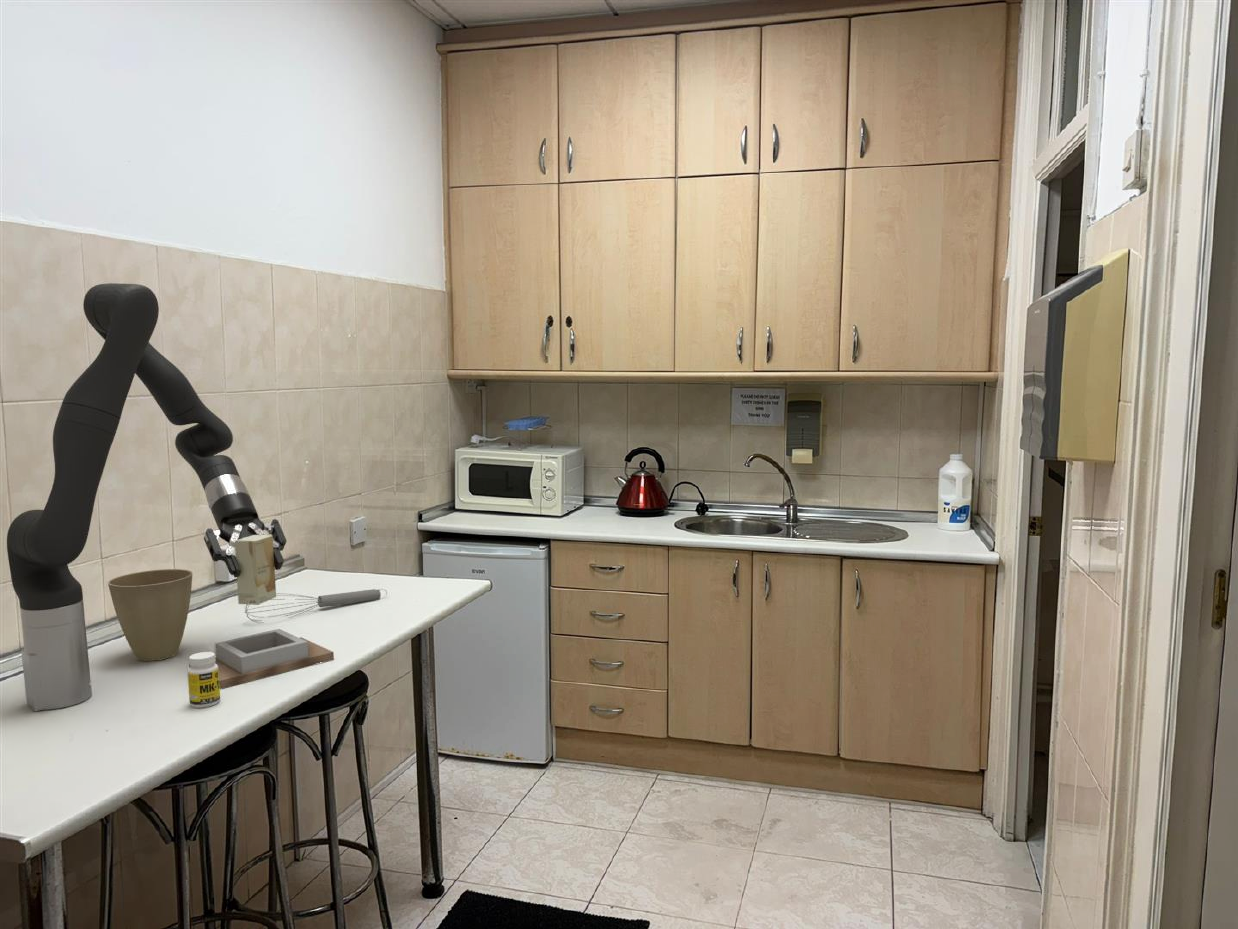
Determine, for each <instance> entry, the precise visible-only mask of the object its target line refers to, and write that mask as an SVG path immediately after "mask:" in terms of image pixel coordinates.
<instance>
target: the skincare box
mask: <svg viewBox="0 0 1238 929" xmlns="http://www.w3.org/2000/svg"><path fill="white" fill-rule="evenodd" d="M234 551H235V552H234V553H235V554H234V555H235V557H236V559H237V562H238V564H239V567H240V569H241V573H240V576H239V577H236V580H237V581H236V583H237V585H236V586H237V600H238V605H246V604H248V605H249V604H250V605H255V606H259V605H261V604H264V603H267V602H268V601H272V600H271V599H276V597H277V596H276V595H277V594H276V593H277V589H276V573H275V572H276V571H275V570H276V569H275V567H274V551H273V536H272V535H271V534H268V535H252V536H249V537H245V538H242V539H239V540H236V541H235V548H234ZM250 605H249V606H250Z"/></svg>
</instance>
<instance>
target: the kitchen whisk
mask: <svg viewBox="0 0 1238 929" xmlns="http://www.w3.org/2000/svg"><path fill="white" fill-rule="evenodd" d="M380 590H381V591H385V592H386V593H385V595H387V594H388V591H387V590H385V589H383V588H379V589H375V588H373V589H366V590H358V591H357V590H356V591H350V592H349V591H348V592H341V593H333V594H325V595H324V594H323V595H319V596H318V597H313V596H307V595H302V594H298V595H297V597H299V598H296V600H300V601H301V600H306V601H310V602H309V603H306V601H301V602H297V604H299V605H298V607H302V606H303V603H304V606H307V605H311V606H309V607H305V608H303V609H299V610H295V611H292V612H288V613H283V614H278V615H276V617H279V616H285V617H288V619H291V618H294V617H296V616H299V615H301V614H304V613H305V612H309V611H311V610H313V609H315V608H317V607H319V608H326V607H327V608H328V607H335V606H340V605H341V606H342V605H349V604H350V605H351V604H356V603H357V602H358V603H363V602H362V601H366V602H370V601H369V600H373V601H375V600H374V599H377V598H380V599H381V596H382V595H381V594H382V593H381V591H380ZM283 596H284V597H294V596H296V594H294V593H293V594H292V593H289V594H283V592H282V593H277V592H276V597H283ZM276 600H278V601H279V600H283V601H284V598H273V599H271V600H270V601H276ZM377 600H378V599H377ZM292 604H293V605H294V602H290V603H288V602H287V603H286V605H292ZM313 604H314V605H313ZM280 605H281V606H282V605H284V603H280V604H277V606H280ZM249 606H250V604H245V607H244V613H245V614H246V617H247V618H248V619H249V620H251V621H252V622H255V623H257V624H261V622H263V620H262V619H261V620H260V619H258V620H257V619H254V618H258V616H256V615H252V614H253V613H255V611H249V610H254V609H258V608H259V609H260V608H261V606H258V607H253V608H249ZM273 606H276V604H270V605H269V607H273ZM265 607H268V605H265V606H262V608H265ZM296 607H297V605H294V606H292V608H296ZM288 608H289V609H290V608H291V606H287V607H281V608H279V610H284V609H288ZM277 610H278V608H273V609H272V611H277ZM248 611H249V612H248ZM261 612H263V613H264V610H261V611H257V613H261ZM265 612H271V609H267V610H265ZM251 613H252V614H251ZM294 614H295V615H294ZM291 615H293V616H291ZM249 616H251V617H254V618H253V619H252V618H250V617H249ZM289 616H290V617H289ZM272 617H275V615H271V616H269V618H272ZM260 618H263V616H260Z"/></svg>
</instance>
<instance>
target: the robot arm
mask: <svg viewBox="0 0 1238 929" xmlns="http://www.w3.org/2000/svg"><path fill="white" fill-rule="evenodd" d="M82 304H83V312H84V316H85V317H86V319H87V321H88V323H89V324H90V325H91V327H92V328H93V329H94V331H96V332H97V333H98V335H99V336H100V337H101V338H102V339H103V340H104V343H103V345H102V348H101V350H100V351H99V353H98V354H97V356H96V358H95V359H94V360H93V361H92V363H90V365H89V366H88V367H87V368H86V369H85V370H84V371H83V372H82V373H81V375H80V376H79V377H78V378H77V379H75V381H74V383H72V385H71V386H70V388H68V390H67V392H66V393H65V395H64V397H63V400H62V402H61V404H60V408H59V411H58V414H57V416H56V420H55V423H54V427H53V431H52V434H53V435H52V450H53V452H52V453H53V460H54V462H53V463H54V477H53V484H52V488H51V490H50V493H49V496H48V498H47V501H46V504H45V505H44V508H43V509H31V510H27V511H24V512H22V513H20V514H19V515H17V516H16V517H14V519H13V520H12V522H11V523H10V525H9V527H8V530H7V534H6V549H7V550H6V552H7V560H8V566H9V572H10V580H11V585H12V587H13V591H14V592H15V594H16V596H17V597H18V601H19V609H20V619H21V630H22V639H23V648H22V649H21V659H22V660H21V661H22V670H23V679H24V680H23V681H24V682H23V683H24V688H25V690H24V691H25V698H26V699H25V700H26V704H27V705H28V706H29V705H30V706H29V707H30V709H32V710H33V711H34V712H39V711H44V710H55V709H61V708H62V709H63V708H67V707H71V706H73V705H76V704H80V703H83V702H84V701H87V700H88V699H90V698H91V697H92V693H93V691H92V681H91V670H90V660H89V647H88V639H87V629H86V628H87V627H86V617H85V608H84V607H85V605H84V592H83V588H82V585H81V583H80V582H79V581H78V580H77V578H75V577H74V576H73V574H72V572H71V571H70V568H69V564H71V563H73V562H74V561H75V560H76V559H77V558H78V557H79V556H80V555H81V553H83V550H84V549H85V547H86V544H87V539H88V537H89V532H90V528H91V523H92V517H93V512H94V507H95V501H96V498H97V493H98V489H99V486H100V482H101V479H102V477H103V473H104V470H105V466H106V464H107V460H108V456H109V454H110V450H111V447H112V445H113V442H114V440H115V436H116V434H117V431H118V428H119V424H120V421H121V417H122V414H123V409H124V408H125V403H126V401H127V398H128V395H129V392H130V389H131V386H132V384H133V380H134V377H135V375H136V376H137V377H138V379H139V380H140V381H141V382H142V383H143V385H144V386H145V387H146V389H147V390H148V391H149V393H150V394H151V396H152V398H153V399H154V400H155V403H156V404H157V405H158V406H159V409H160V410H161V411H162V412H163V414H164V415H165V417H166V418H167V420H168V422H170V423H171V424H173V425H174V426H186V425H191V424H192V425H193V424H194V425H193V426H191V427H187V428H185V429H183V430H181V431H180V432H178V433H177V435H176V436H175V440H174V444H175V445H174V447H175V448H176V450H177V452H178V453H179V455H180V456H181V457H182V458H183V459H184V460H185V462H187V464H189V466H190V467H191V468H192V469H193V471H194V472H195V474H196V475H197V477H198V479H199V481H200V483H201V486H202V488H203V491H204V493H205V497H206V502H207V505H208V509H210V512H211V514H212V517H213V519H214V521H215V524H216V526H217V528H218V529H215V530H214V529H212V528H210V527H209V528H207V529H206V531H205V533H204V537H203V540H204V543H205V545H206V548H207V550H208V553H209V554H210V557H211V560H212V561H213V562H219V561H222V562H224V563H225V565H226V567H227V570H228V573H229V574H230V575H231V576H233V577H234V578H237V577H239V576H240V573H241V569H240V567H239V564H238V562H237V559H236V554H234V551H235V541H236V540H239V539H242V538H245V537H249V536H252V535H272V536H273V551H274V568H275V570H276V571H279V570H281V569H282V567H283V564H284V562H285V561H284V560H285V559H284V557H283V555H282V553H281V551H283V550H284V549H285V546H286V544H287V538H286V536H285V533H284V531H283V530H282V526H281V524H280V523H279V520H278V519H276V518H275V519H272V521H271V522H263V521H262V520H261V519H260V517H259V514H258V512H257V509H256V507H255V504H254V502H253V500H252V497H251V496H250V493H249V490H248V488H247V486H246V484H245V483H244V482H243V480H242V478H241V475H240V474H239V471H238V469H237V467H236V464H235V463H234V462H235V461H233V459H232V458H231V457H230V456H227V455H224V454H221V453H222V452H224V451H227V450H228V449H230V448H231V446H232V445H233V441H234V436H233V432H232V430H231V429H230V427H229V426H228V424H226V422H224V421H223V420H222V419H221V418H220V417H218V416H217V415H216V414H215V413H214V412H213V411H211V409H210V408H209V407H208V406H206V405H205V403H204V402H203V401H202V400H201V398H200V397H199V394H197V392H196V391H195V388H194V387H193V385H192V384H191V382H190V381H189V379H188V378H187V376H186V375H185V374H184V373H183V372H182V371H181V370H180V369H179V368H178V367H176V365H175V364H173V362H171V361H170V360H169V359H167V358H166V356H164V355H163V354H161V353H160V352H159V351H158V350H157V349H156V348H155V347H154V346H153V345H152V344H151V343H150V340H151V338H152V335H153V333H154V331H155V329H156V325H157V323H158V320H159V312H160V308H159V302H158V298H157V296H156V294H155V293H154V292H153V290H152V289H151V288H149V287H147V286H146V285H142V284H140V283H139V284H138V283H116V282H115V283H111V282H109V283H99V284H96V285H94V286H92V287H91V288H90V289H88V290H87V292H85V295H84V298H83V303H82ZM265 531H266V532H265ZM267 532H268V533H267ZM219 539H221V540H223V541H224V542H226V543H228V545H227V548H226V550H222V548H221V545H220V543H219V541H218V540H219ZM233 554H234V555H233Z"/></svg>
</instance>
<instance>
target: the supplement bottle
mask: <svg viewBox="0 0 1238 929" xmlns="http://www.w3.org/2000/svg"><path fill="white" fill-rule="evenodd" d="M215 657H216V653H214V652H212V651H203V652H197V653H193V654H192V655H190V656H189V657H188V658H189V660H188V662H189V663H188V664H190V666H191V667H190V668H189V667H188V669H187V681H188V682H187V683H188V696H189V697H188V698H189V699H188V700H189V705H190V707H192V708H197V709H198V708H208V707H212V706H215V705H217V704H218V703H219V702H220V700H221V692H220V691H221V689H220V688H219V672H218V665H217V664H215V660H216V659H215Z"/></svg>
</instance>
